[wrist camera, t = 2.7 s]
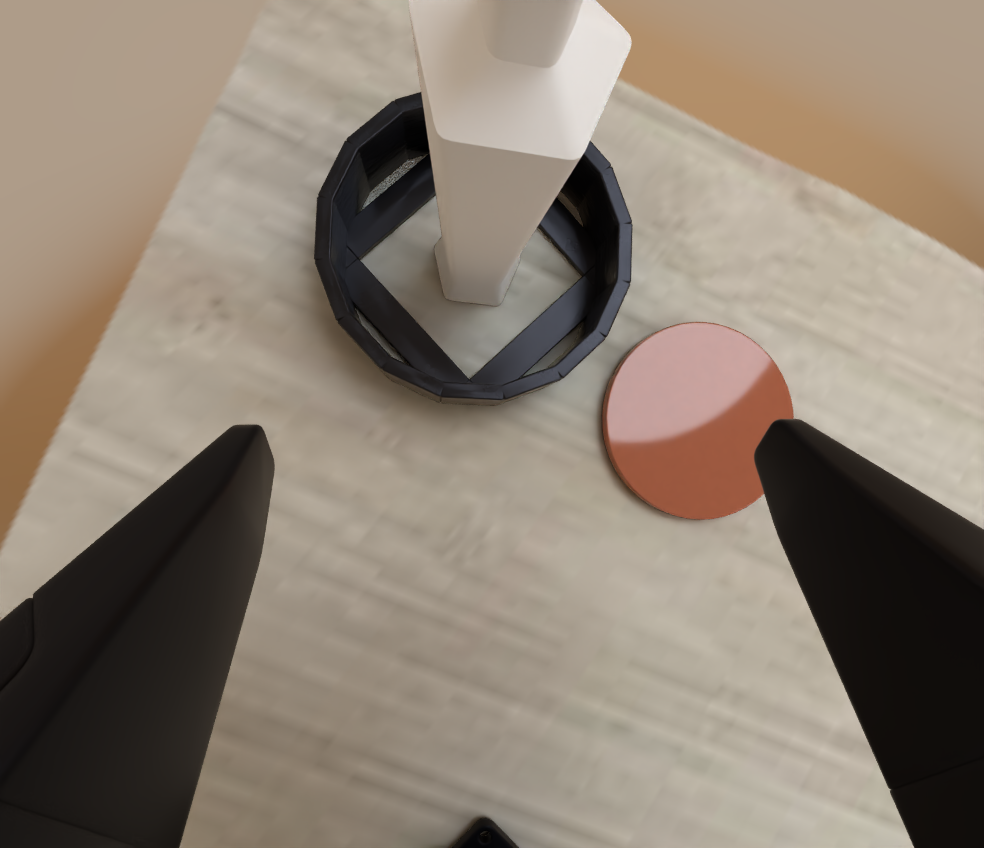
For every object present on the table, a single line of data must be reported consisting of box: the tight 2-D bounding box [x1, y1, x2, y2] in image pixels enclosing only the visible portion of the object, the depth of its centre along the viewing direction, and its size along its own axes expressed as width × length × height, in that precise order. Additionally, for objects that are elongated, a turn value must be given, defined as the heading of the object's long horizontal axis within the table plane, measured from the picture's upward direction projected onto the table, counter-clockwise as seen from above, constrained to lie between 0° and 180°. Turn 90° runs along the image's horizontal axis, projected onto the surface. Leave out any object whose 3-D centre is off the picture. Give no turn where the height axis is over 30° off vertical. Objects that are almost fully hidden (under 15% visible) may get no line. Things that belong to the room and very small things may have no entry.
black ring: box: [314, 92, 632, 406], centre depth 21 cm, size 12×12×3 cm
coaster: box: [602, 322, 794, 520], centre depth 23 cm, size 9×9×1 cm
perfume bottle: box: [409, 0, 632, 306], centre depth 15 cm, size 5×4×15 cm
